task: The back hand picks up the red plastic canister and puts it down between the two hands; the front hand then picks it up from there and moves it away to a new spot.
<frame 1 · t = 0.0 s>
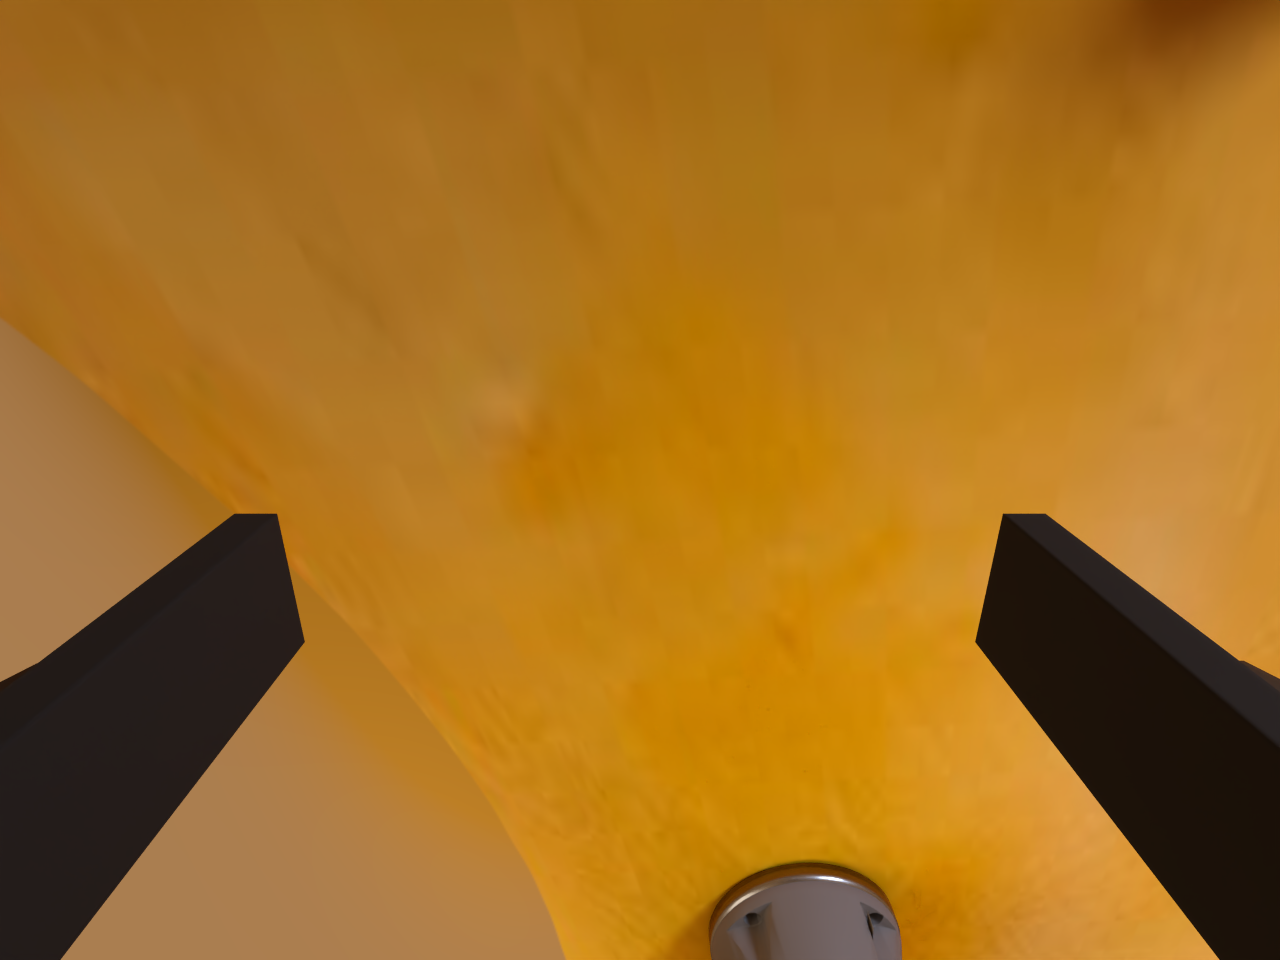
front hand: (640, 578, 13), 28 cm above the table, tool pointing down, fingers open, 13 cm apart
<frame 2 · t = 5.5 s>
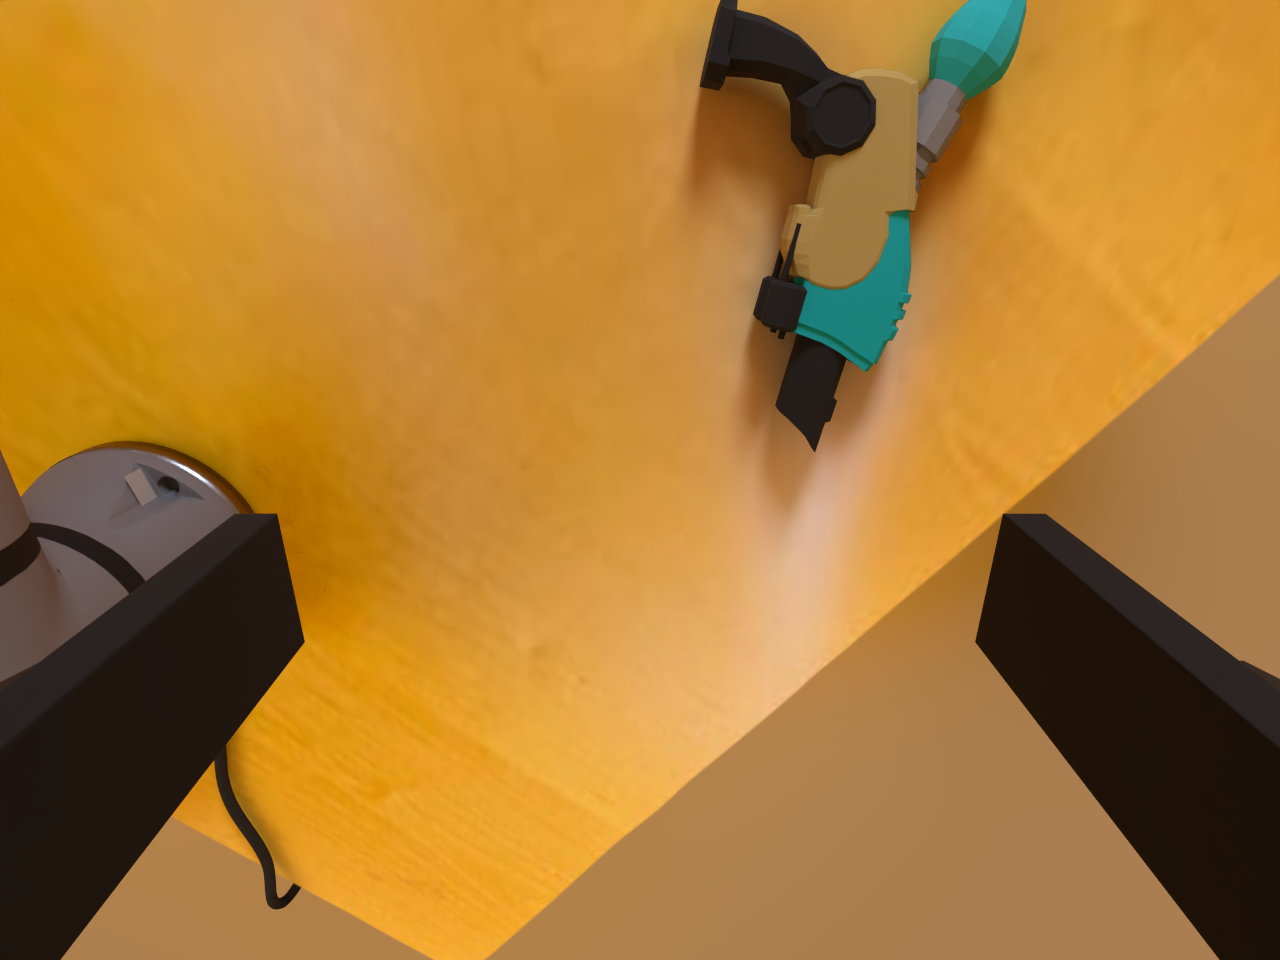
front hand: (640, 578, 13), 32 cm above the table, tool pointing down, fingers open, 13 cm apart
toy gun 2: (801, 216, 40), on the table
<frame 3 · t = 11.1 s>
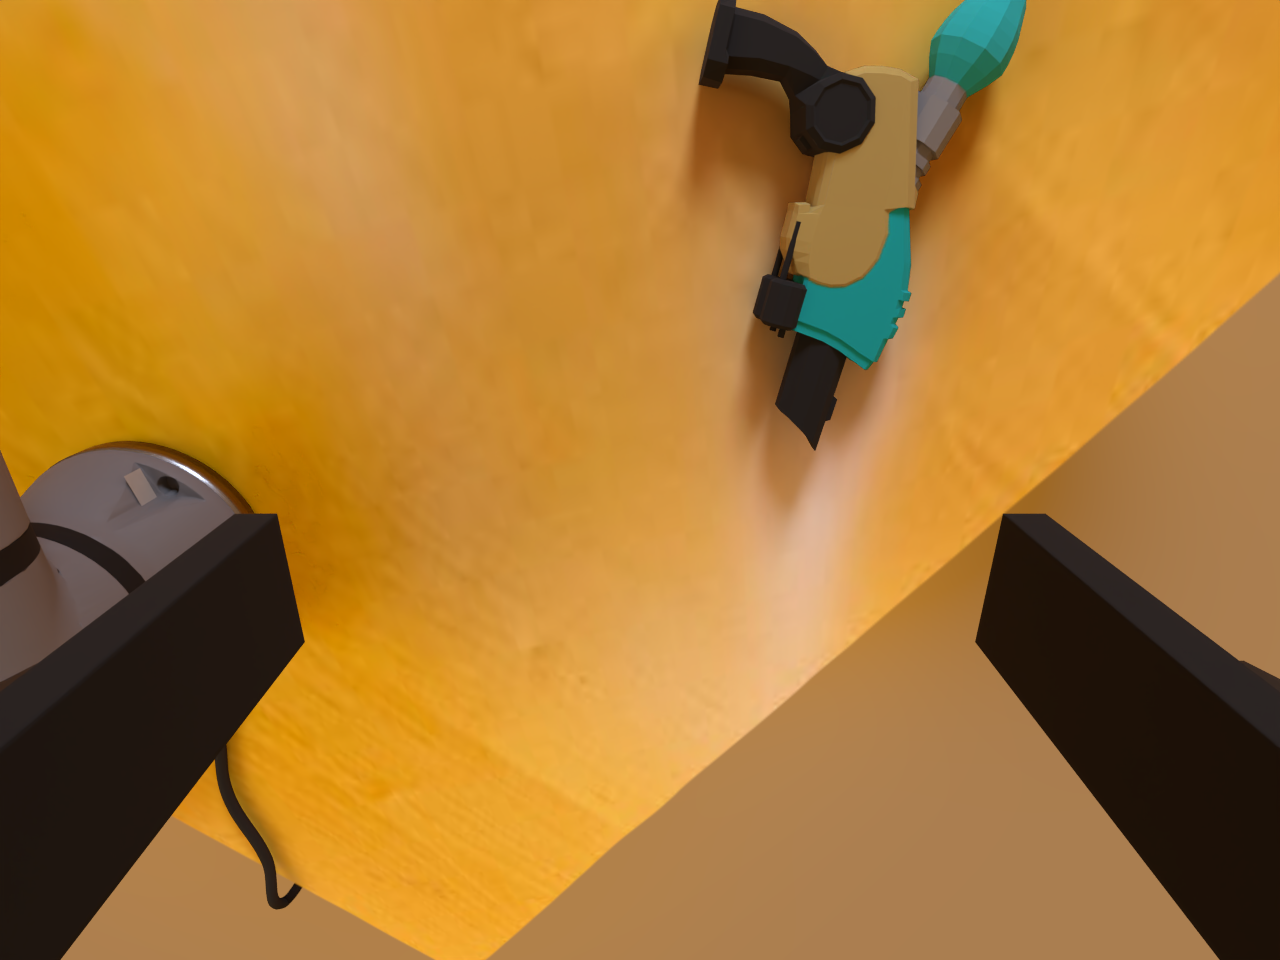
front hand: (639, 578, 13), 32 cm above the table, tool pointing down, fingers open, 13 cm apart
toy gun 2: (801, 214, 40), on the table
when the back hand's fingers open (3 cm above the table, at t = 16.7 s): canister drops 1 cm, on the table.
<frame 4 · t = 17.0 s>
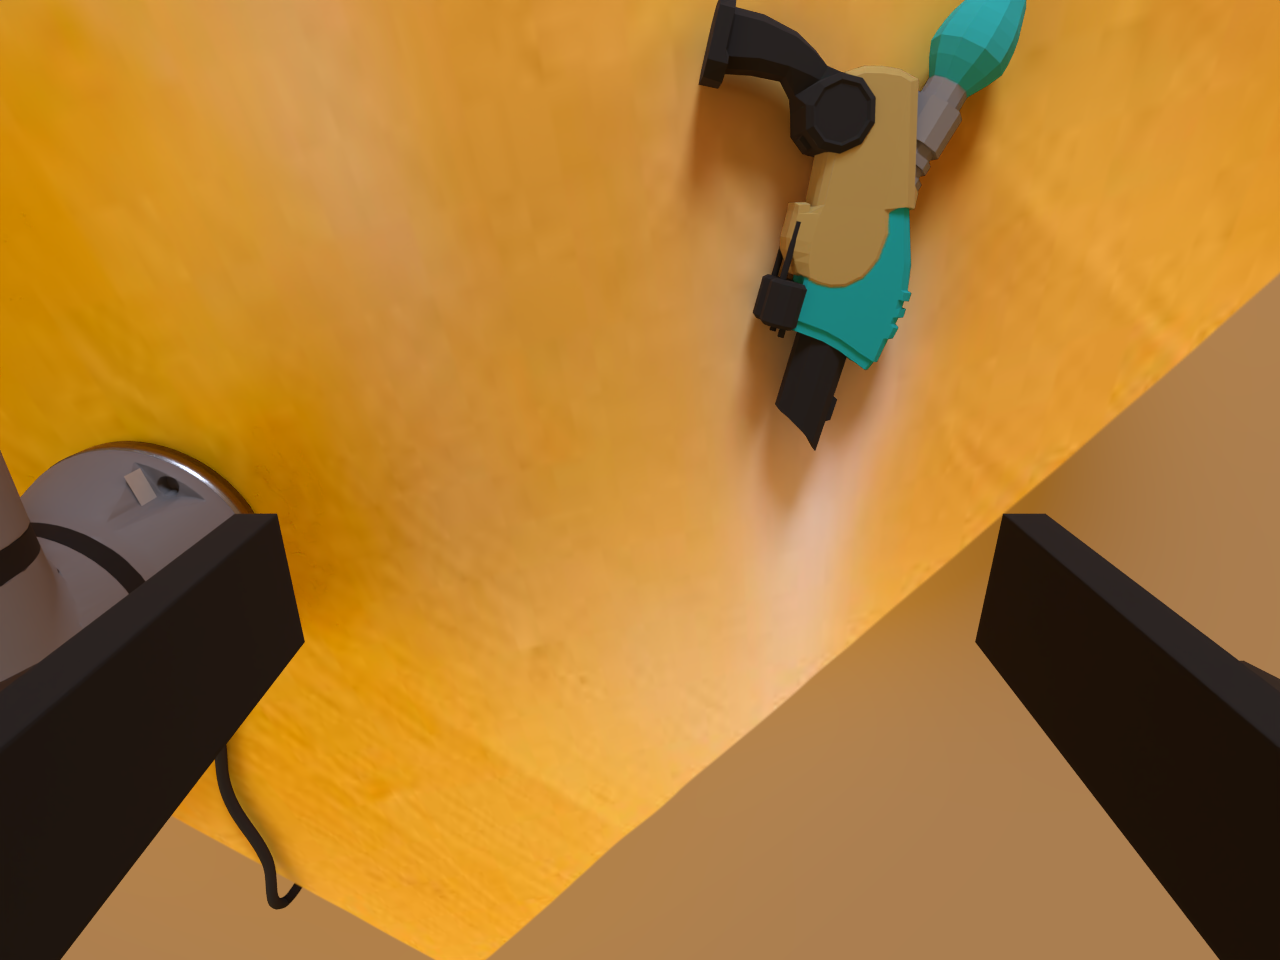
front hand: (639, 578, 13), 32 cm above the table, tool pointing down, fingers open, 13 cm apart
toy gun 2: (801, 214, 40), on the table
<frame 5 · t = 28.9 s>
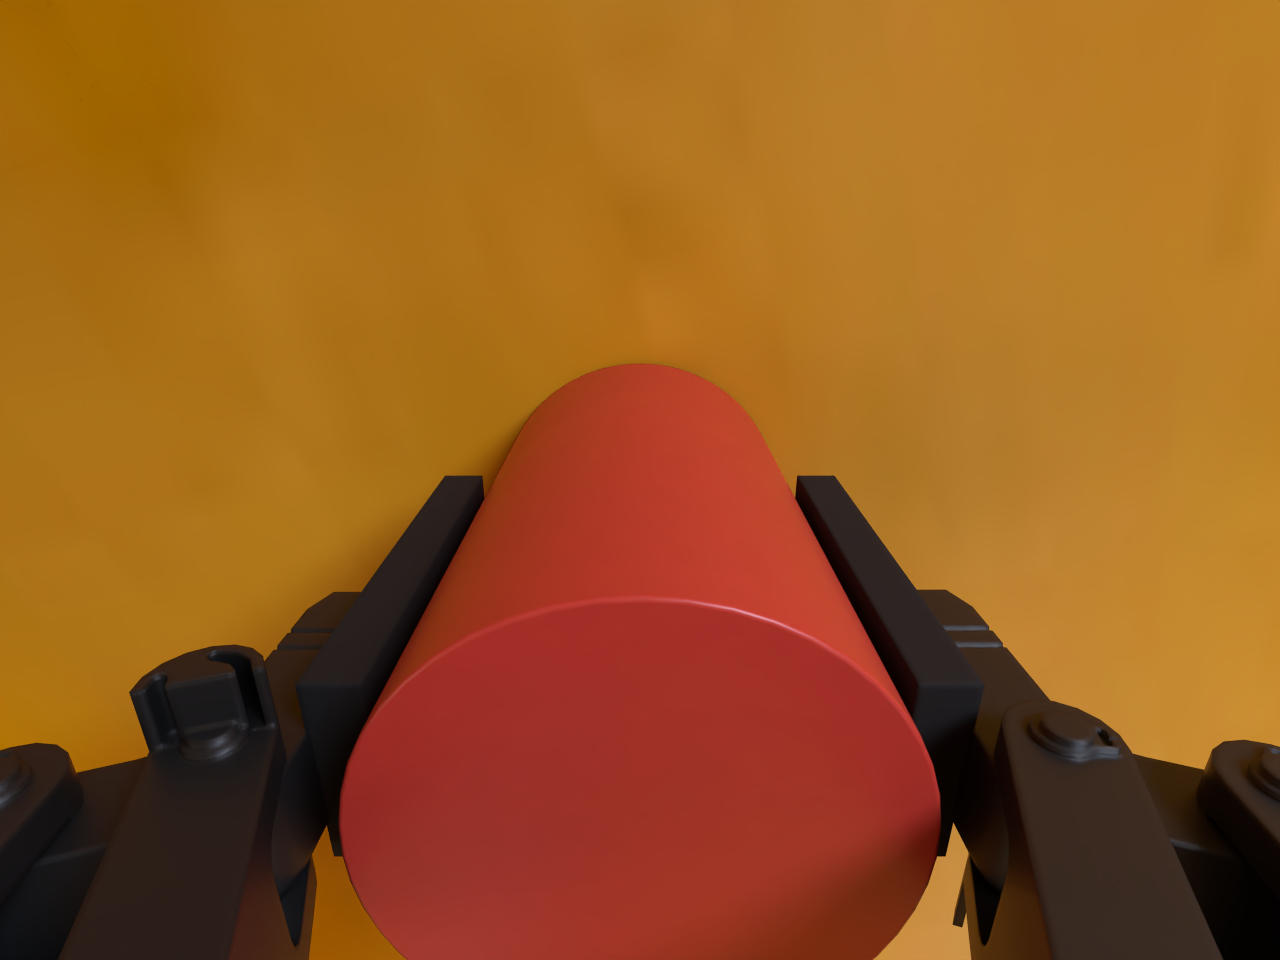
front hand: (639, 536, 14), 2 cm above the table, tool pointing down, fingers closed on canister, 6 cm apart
canister: (639, 495, 16), on the table, touching front hand
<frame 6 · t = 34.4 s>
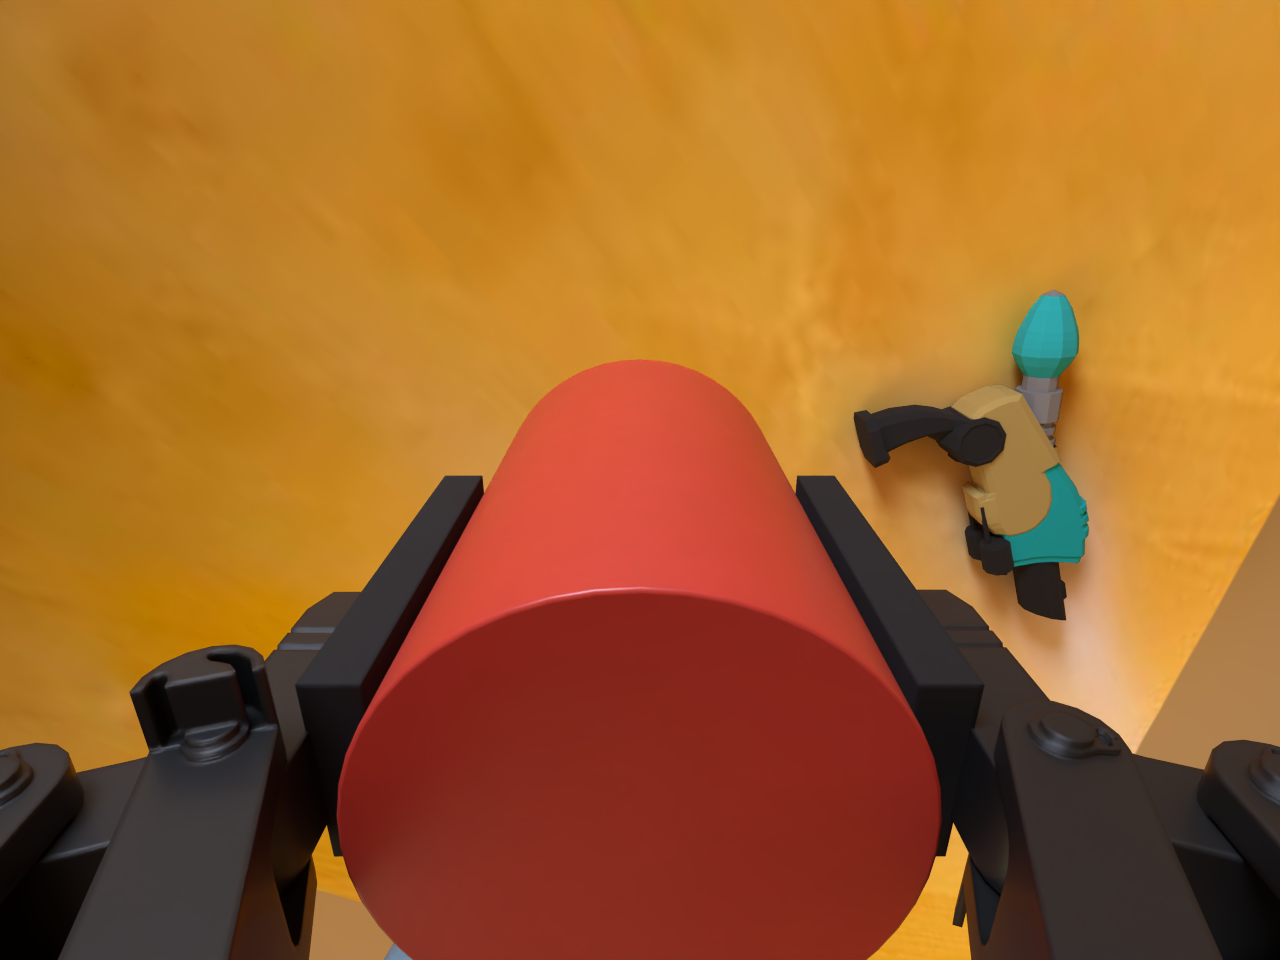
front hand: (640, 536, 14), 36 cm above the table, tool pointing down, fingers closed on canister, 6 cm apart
canister: (639, 491, 16), point 34 cm above the table, touching front hand
toy gun 2: (969, 478, 53), on the table
when the front hand's fingers open (3 cm above the table, at t = 40.1 s): canister drops 1 cm, on the table.
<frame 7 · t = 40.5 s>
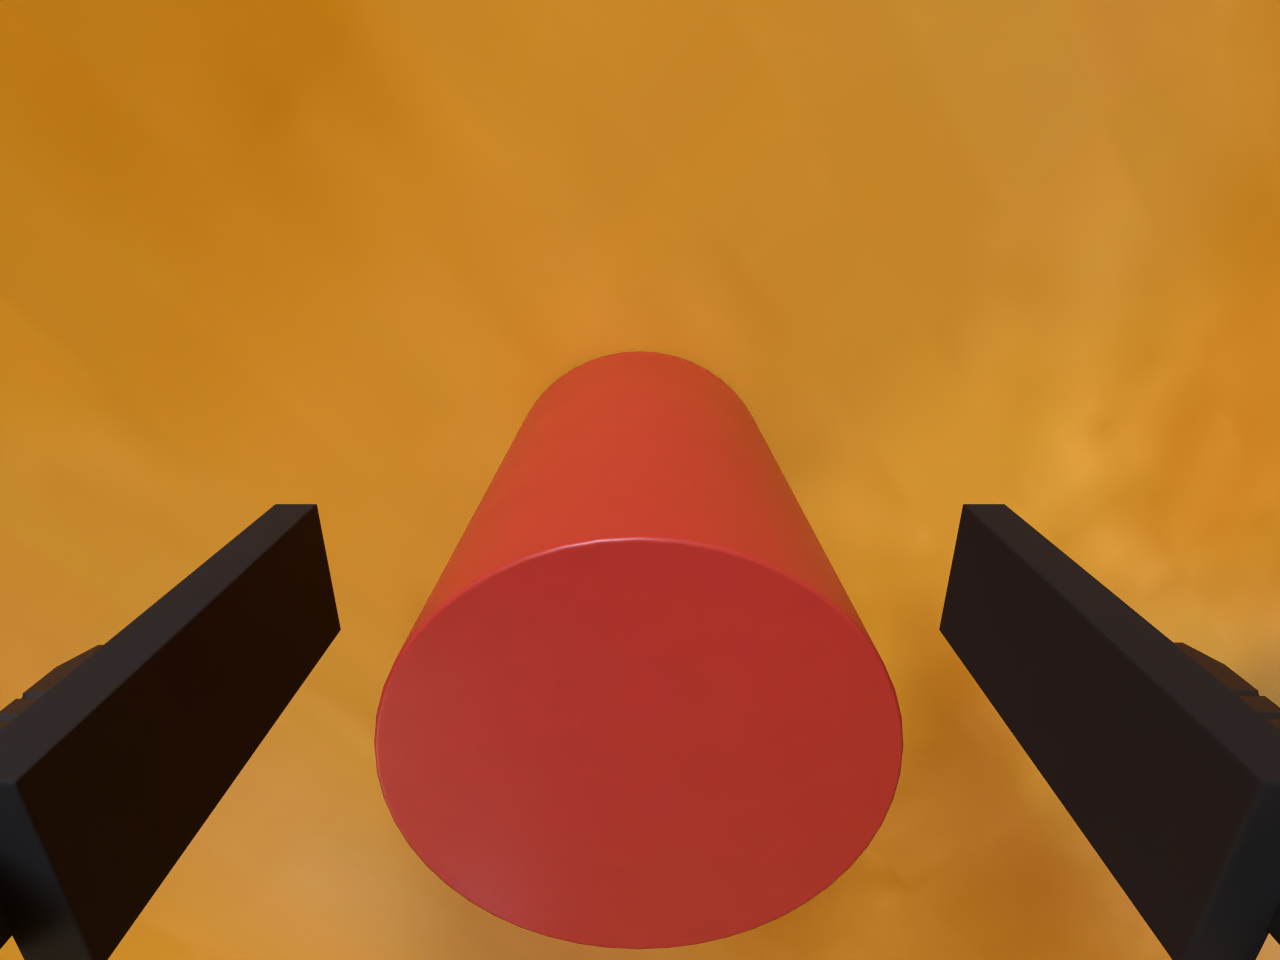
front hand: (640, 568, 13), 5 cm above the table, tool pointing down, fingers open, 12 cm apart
canister: (639, 476, 17), on the table
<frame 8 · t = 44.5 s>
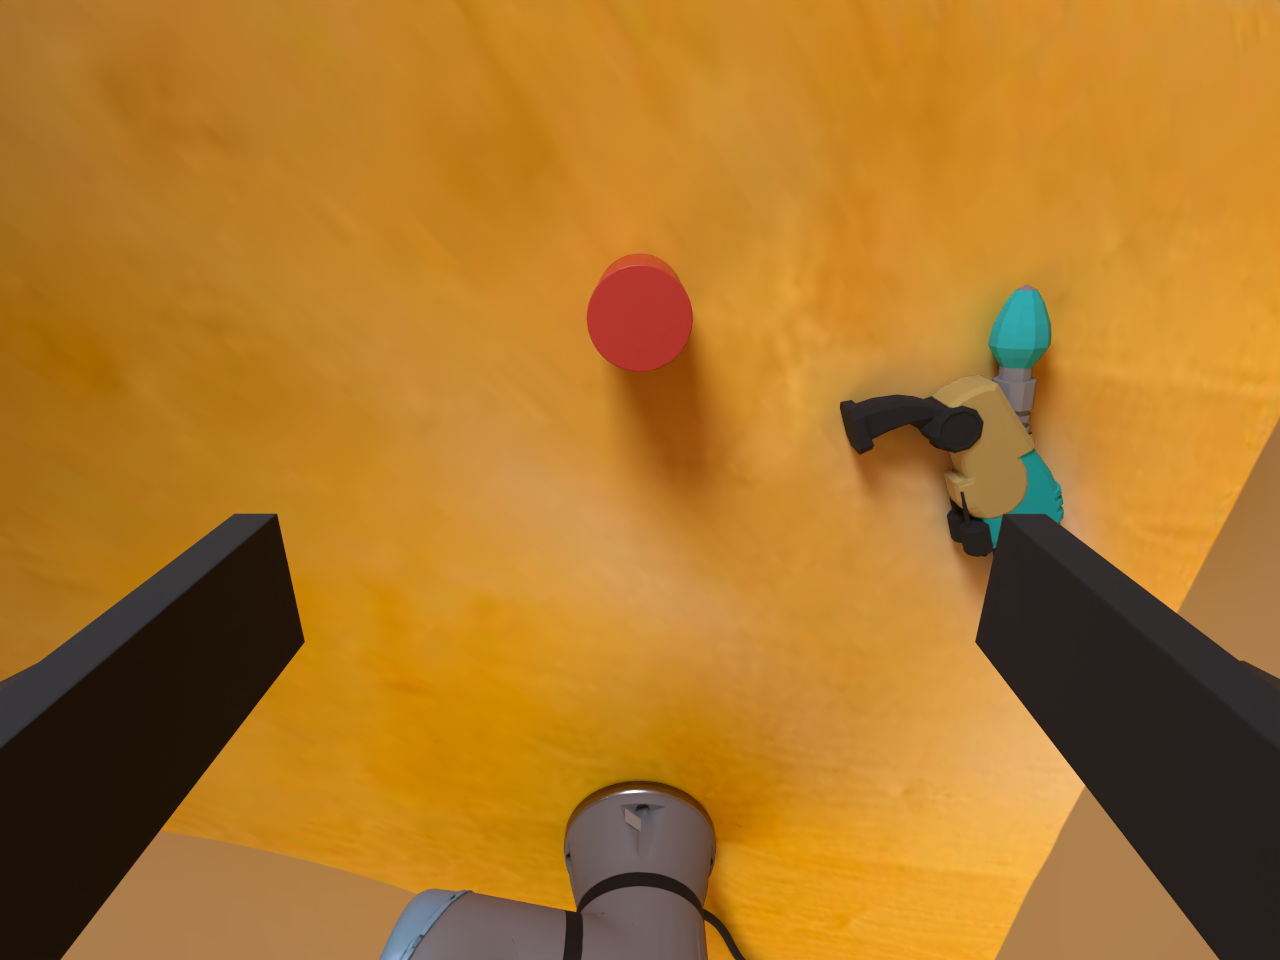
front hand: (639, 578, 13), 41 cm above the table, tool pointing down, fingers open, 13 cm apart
canister: (639, 299, 50), on the table
toy gun 2: (951, 465, 55), on the table
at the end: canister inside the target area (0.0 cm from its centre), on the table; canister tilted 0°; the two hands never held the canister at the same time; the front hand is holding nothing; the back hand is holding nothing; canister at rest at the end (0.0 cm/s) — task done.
